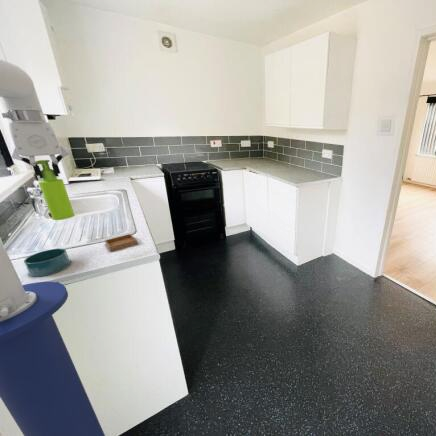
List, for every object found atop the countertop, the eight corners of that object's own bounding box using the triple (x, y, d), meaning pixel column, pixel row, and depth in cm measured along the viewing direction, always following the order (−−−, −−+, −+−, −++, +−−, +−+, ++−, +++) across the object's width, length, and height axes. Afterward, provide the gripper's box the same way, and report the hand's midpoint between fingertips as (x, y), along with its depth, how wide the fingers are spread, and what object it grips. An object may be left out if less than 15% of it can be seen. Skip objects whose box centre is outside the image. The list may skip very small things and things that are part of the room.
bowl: (71, 267, 86) (67, 255, 84) (29, 280, 79) (23, 267, 77) (69, 257, 93) (64, 245, 92) (29, 268, 86) (24, 255, 85)
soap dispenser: (48, 222, 82) (25, 162, 76) (56, 215, 88) (36, 159, 81) (70, 219, 85) (49, 160, 78) (77, 213, 91) (58, 158, 84)
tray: (137, 244, 104) (136, 240, 103) (110, 251, 97) (109, 247, 97) (131, 237, 110) (130, 233, 109) (106, 244, 104) (104, 240, 103)
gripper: (-15, 116, 67) (13, 182, 74) (64, 117, 78) (82, 174, 85) (-12, 117, 72) (14, 179, 79) (62, 118, 83) (79, 172, 90)
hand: (49, 176), depth 82 cm, fingers closed on soap dispenser, 3 cm apart
